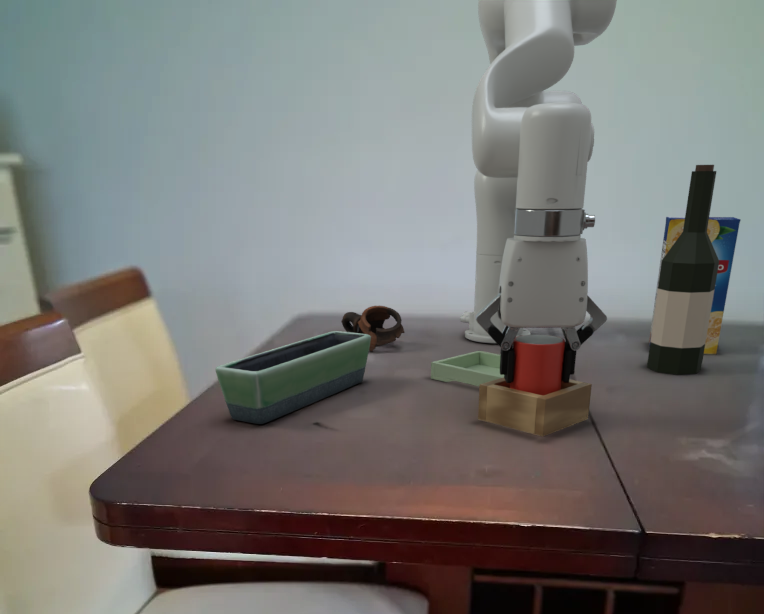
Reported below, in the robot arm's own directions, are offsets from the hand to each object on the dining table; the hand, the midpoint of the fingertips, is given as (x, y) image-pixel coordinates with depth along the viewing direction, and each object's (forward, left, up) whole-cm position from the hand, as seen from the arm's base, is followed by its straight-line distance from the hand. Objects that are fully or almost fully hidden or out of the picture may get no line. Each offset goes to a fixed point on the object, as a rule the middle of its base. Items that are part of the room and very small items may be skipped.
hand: (536, 379), depth 92 cm
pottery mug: (-49, +18, -6) cm, 53 cm away
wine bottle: (-1, +40, -6) cm, 40 cm away
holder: (0, 0, -6) cm, 6 cm away
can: (0, 0, -5) cm, 5 cm away
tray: (-18, +14, -6) cm, 23 cm away
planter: (-30, -14, -6) cm, 33 cm away
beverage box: (-7, +55, -6) cm, 56 cm away
